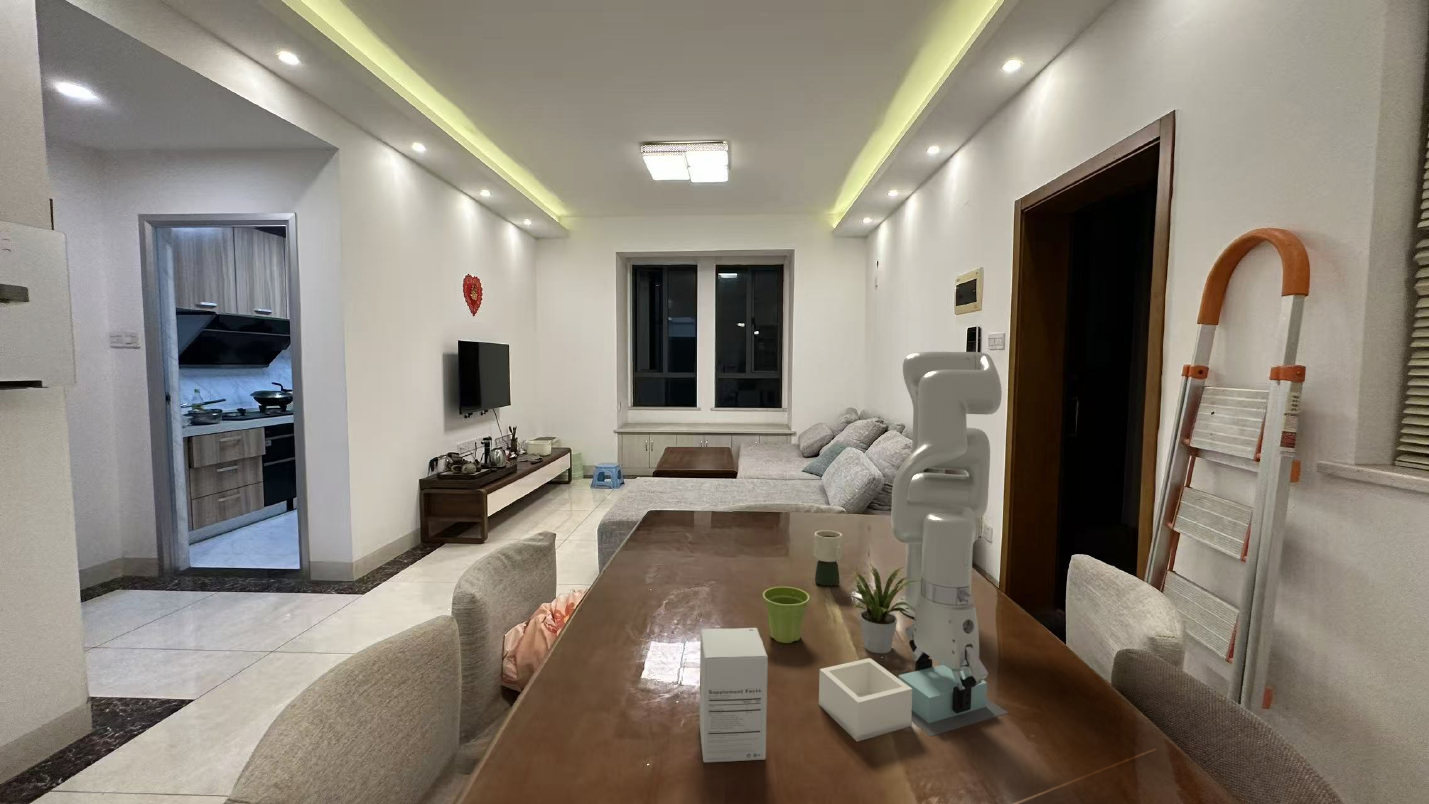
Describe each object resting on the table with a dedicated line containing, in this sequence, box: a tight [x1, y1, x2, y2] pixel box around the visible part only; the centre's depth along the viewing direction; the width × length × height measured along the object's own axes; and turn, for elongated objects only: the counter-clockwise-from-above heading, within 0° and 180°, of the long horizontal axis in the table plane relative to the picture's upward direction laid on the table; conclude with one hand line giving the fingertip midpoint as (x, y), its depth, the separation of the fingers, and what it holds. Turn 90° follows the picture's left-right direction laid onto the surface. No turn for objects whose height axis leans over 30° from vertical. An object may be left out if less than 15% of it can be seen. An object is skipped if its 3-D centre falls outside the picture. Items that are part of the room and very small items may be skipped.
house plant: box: [850, 563, 921, 654], centre depth 111 cm, size 14×14×16 cm
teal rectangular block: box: [897, 664, 988, 723], centre depth 92 cm, size 12×7×4 cm, turn 113°
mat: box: [911, 698, 1009, 737], centre depth 92 cm, size 16×12×1 cm
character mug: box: [813, 530, 843, 587], centre depth 145 cm, size 11×7×13 cm, turn 20°
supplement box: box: [699, 627, 769, 763], centre depth 82 cm, size 9×9×15 cm
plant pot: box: [762, 586, 810, 644], centre depth 115 cm, size 9×9×9 cm
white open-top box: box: [818, 657, 912, 742], centre depth 89 cm, size 10×10×6 cm
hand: (941, 696), depth 92 cm, fingers open, 7 cm apart
